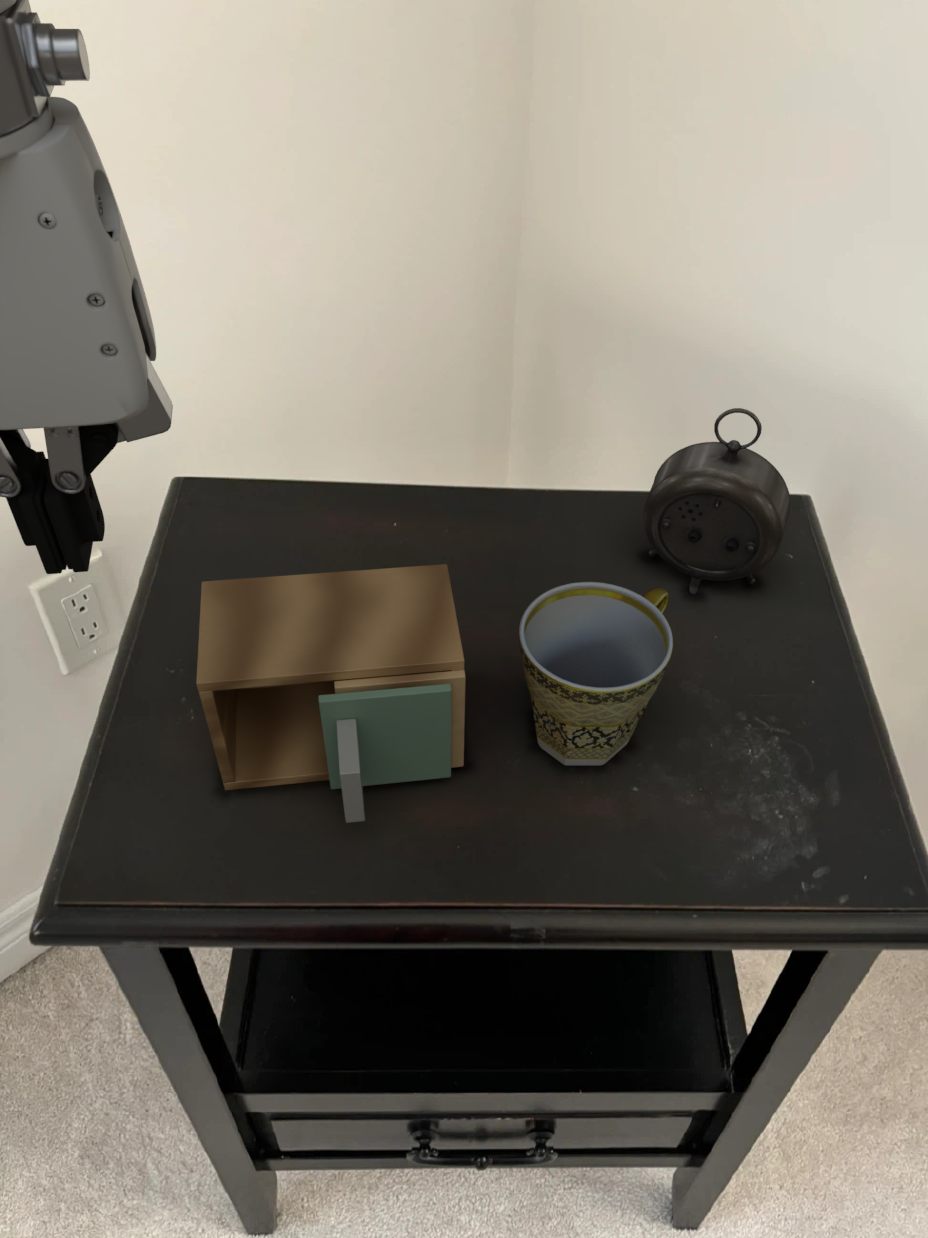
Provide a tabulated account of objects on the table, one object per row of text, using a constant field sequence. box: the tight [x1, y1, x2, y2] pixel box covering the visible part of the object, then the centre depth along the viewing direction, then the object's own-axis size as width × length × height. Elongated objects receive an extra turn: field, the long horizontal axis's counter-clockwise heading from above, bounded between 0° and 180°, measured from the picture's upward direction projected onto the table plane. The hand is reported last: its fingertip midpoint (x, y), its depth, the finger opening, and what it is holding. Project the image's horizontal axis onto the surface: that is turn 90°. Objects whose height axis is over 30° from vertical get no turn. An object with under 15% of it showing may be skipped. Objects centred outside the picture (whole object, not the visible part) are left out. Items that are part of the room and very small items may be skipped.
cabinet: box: [196, 563, 467, 791], centre depth 69 cm, size 16×10×11 cm, turn 99°
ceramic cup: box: [518, 581, 674, 767], centre depth 71 cm, size 13×10×10 cm
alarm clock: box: [642, 407, 791, 595], centre depth 79 cm, size 11×5×16 cm, turn 71°
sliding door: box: [318, 684, 452, 824], centre depth 64 cm, size 8×5×9 cm, turn 99°
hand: (72, 550), depth 44 cm, fingers closed
